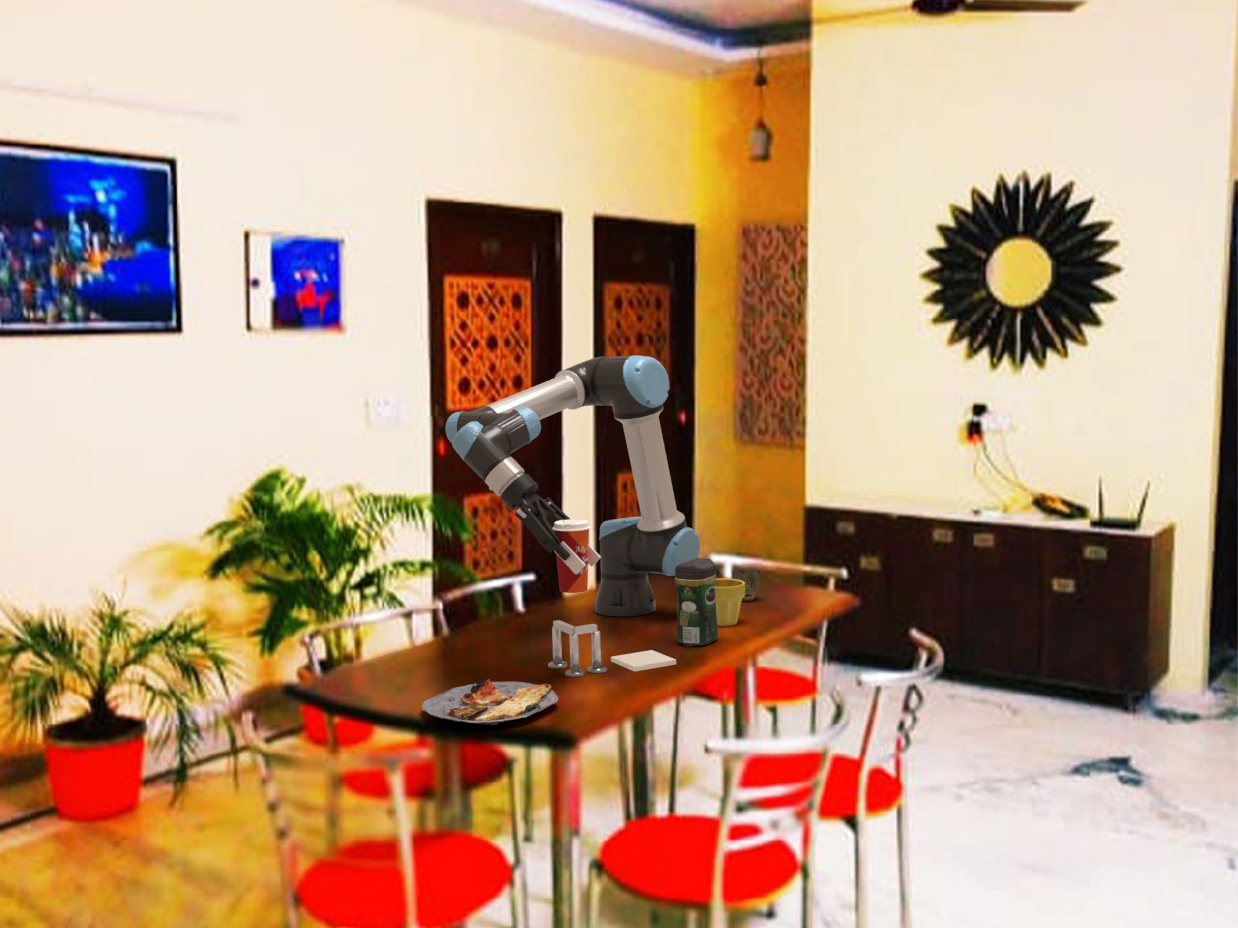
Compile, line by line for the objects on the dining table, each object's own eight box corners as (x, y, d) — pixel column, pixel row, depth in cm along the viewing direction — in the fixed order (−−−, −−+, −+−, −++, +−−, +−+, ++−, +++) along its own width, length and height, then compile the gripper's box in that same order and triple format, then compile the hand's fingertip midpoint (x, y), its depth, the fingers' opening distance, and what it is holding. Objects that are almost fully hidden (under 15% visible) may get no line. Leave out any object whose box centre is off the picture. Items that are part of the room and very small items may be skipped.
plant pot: (753, 625, 303) (752, 583, 302) (712, 629, 300) (711, 588, 299) (734, 616, 313) (733, 576, 312) (694, 620, 309) (693, 580, 308)
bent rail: (544, 665, 272) (543, 620, 271) (583, 659, 276) (581, 614, 275) (570, 678, 261) (569, 630, 260) (610, 671, 266) (608, 624, 265)
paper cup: (587, 594, 258) (585, 524, 256) (550, 593, 260) (547, 524, 258) (596, 586, 266) (594, 518, 264) (559, 585, 267) (557, 518, 266)
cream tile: (610, 661, 274) (610, 656, 274) (651, 654, 278) (651, 649, 278) (634, 671, 265) (634, 666, 265) (676, 664, 270) (676, 659, 270)
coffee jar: (691, 635, 295) (689, 554, 293) (722, 638, 291) (721, 557, 289) (670, 644, 287) (668, 561, 285) (702, 648, 283) (700, 564, 281)
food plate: (481, 684, 258) (480, 667, 257) (580, 700, 246) (580, 682, 246) (399, 722, 236) (398, 704, 236) (504, 741, 225) (503, 721, 224)
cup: (741, 596, 336) (741, 565, 335) (766, 598, 332) (766, 568, 331) (726, 601, 330) (726, 570, 329) (752, 604, 326) (751, 572, 325)
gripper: (522, 491, 276) (595, 568, 272) (478, 504, 256) (556, 588, 252) (544, 466, 273) (618, 544, 269) (502, 478, 254) (581, 562, 250)
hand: (588, 565), depth 261 cm, fingers closed on paper cup, 8 cm apart
